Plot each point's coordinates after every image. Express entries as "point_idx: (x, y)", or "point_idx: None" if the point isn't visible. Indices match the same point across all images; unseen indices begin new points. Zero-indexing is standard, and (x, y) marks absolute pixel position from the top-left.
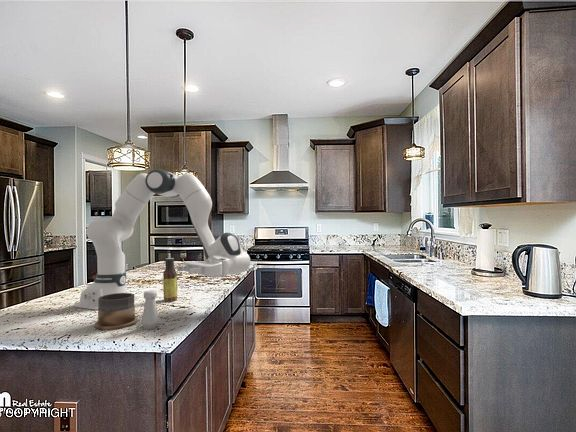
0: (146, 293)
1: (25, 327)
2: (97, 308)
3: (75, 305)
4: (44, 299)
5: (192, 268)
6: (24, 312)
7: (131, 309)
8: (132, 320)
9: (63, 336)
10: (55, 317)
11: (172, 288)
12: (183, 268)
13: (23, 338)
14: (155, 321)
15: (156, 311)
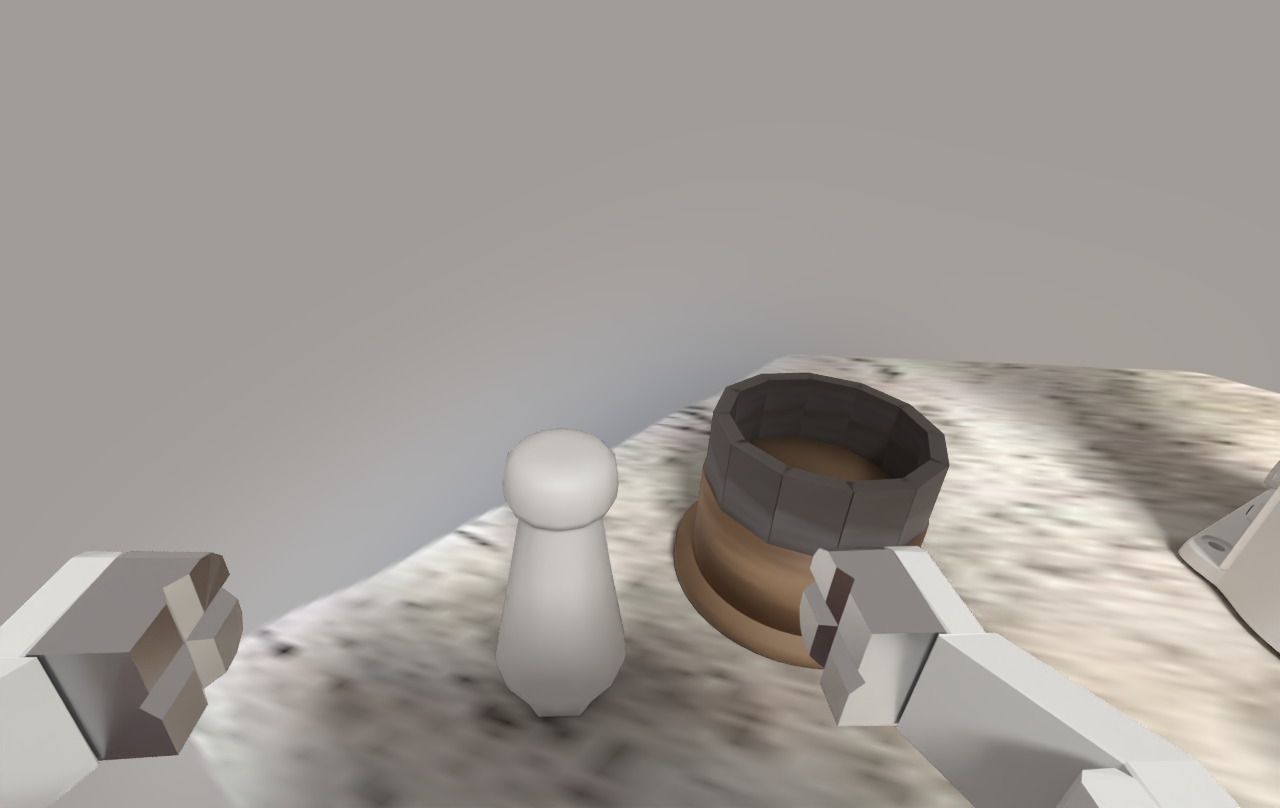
0: (536, 433)
1: (897, 381)
2: (1185, 551)
3: (1262, 493)
4: None
5: (126, 631)
6: (1142, 394)
7: (737, 536)
8: (736, 604)
9: (707, 421)
10: (1030, 436)
11: None
12: (979, 744)
13: (758, 371)
14: (496, 655)
15: (518, 619)
